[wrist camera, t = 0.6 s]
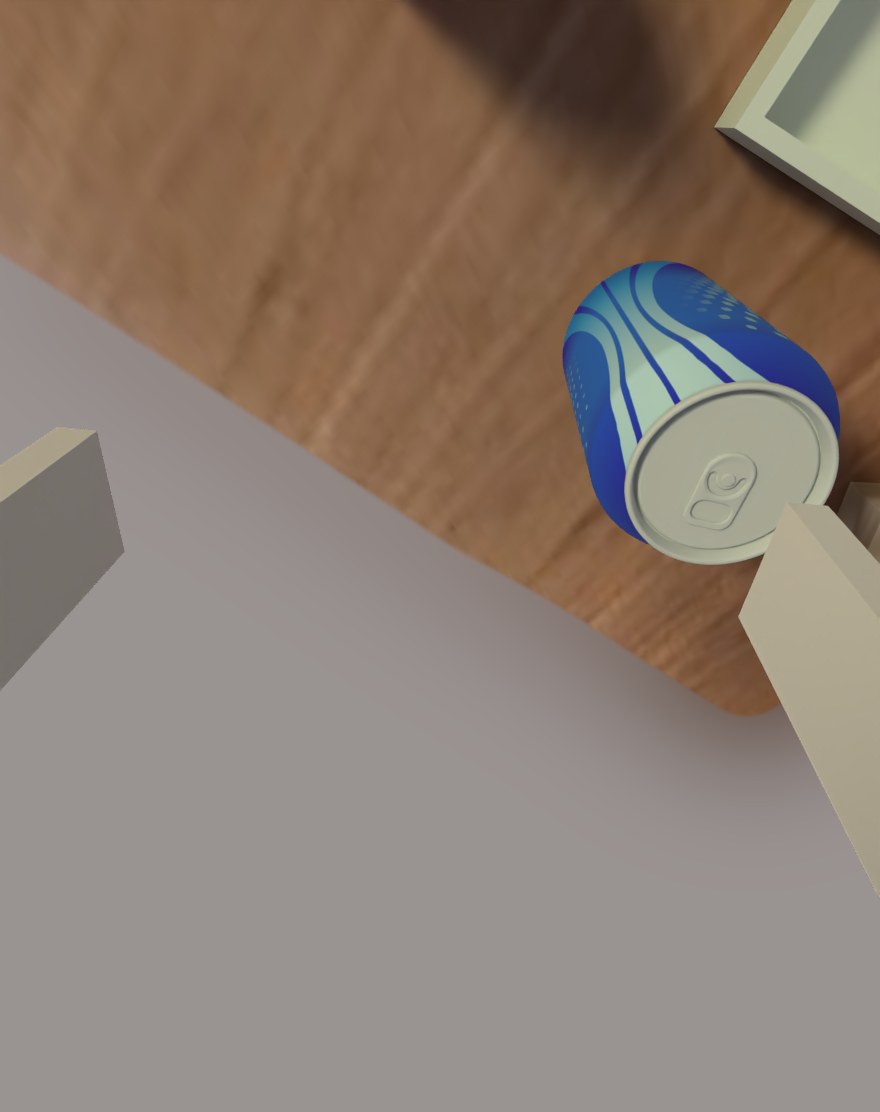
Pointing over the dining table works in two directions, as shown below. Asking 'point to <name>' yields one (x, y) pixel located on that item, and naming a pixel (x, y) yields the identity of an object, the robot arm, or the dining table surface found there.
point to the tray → (818, 103)
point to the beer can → (696, 414)
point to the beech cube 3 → (863, 514)
